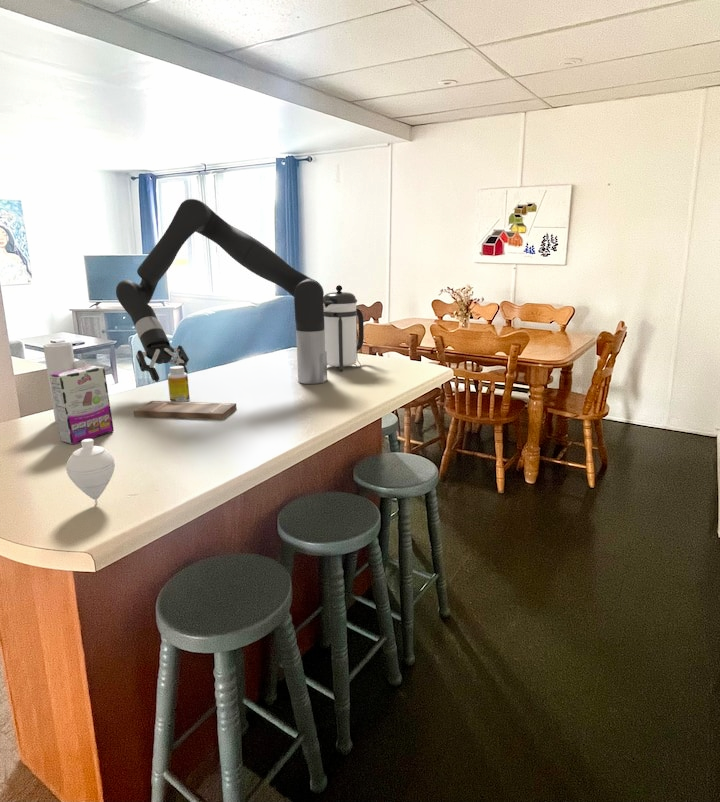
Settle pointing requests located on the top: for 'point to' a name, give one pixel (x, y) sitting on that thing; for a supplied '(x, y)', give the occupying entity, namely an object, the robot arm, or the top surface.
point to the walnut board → (185, 410)
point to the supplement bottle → (178, 384)
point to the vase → (60, 362)
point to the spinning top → (90, 468)
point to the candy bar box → (81, 403)
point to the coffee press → (342, 328)
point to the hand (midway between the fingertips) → (171, 378)
